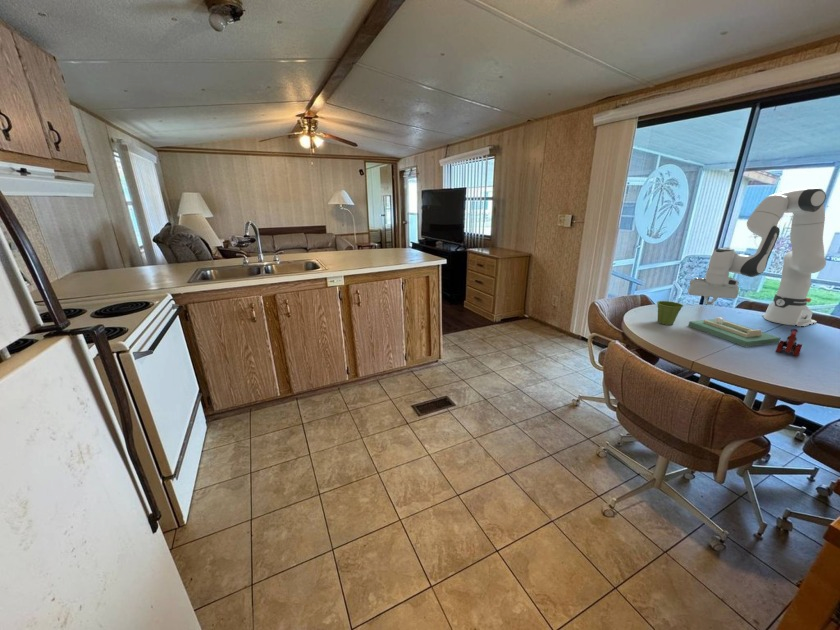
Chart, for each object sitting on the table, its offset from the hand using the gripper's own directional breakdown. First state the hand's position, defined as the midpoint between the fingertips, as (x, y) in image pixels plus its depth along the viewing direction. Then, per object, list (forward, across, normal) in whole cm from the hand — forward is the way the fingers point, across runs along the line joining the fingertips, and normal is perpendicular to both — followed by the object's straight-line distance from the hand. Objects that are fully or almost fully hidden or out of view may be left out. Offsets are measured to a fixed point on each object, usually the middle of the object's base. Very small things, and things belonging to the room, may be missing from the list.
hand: (708, 304), depth 179 cm
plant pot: (+12, -18, -6) cm, 22 cm away
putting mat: (+11, +9, -11) cm, 18 cm away
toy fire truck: (+12, +24, -28) cm, 39 cm away
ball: (+7, +4, -6) cm, 10 cm away
